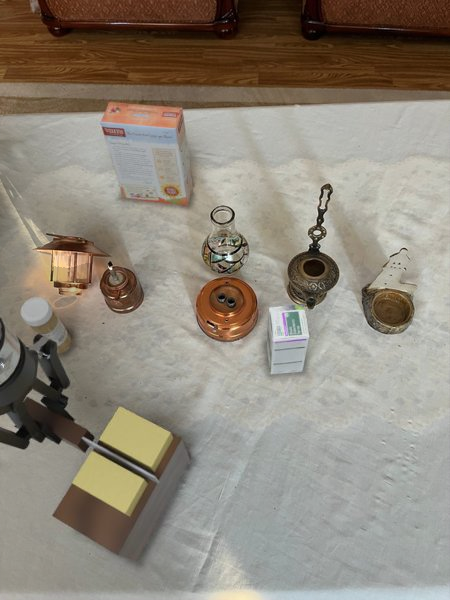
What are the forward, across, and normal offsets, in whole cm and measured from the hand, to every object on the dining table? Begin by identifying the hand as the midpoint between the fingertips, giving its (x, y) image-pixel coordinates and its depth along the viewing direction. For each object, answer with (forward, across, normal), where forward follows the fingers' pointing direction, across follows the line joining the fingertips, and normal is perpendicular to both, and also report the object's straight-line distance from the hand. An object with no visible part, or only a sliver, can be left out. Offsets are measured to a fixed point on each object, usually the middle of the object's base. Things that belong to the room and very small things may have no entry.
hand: (58, 427), depth 72 cm
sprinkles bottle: (+14, +14, +15) cm, 25 cm away
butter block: (0, +3, -11) cm, 11 cm away
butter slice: (0, -3, -11) cm, 11 cm away
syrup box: (+14, +29, -22) cm, 39 cm away
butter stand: (+14, -2, -11) cm, 18 cm away
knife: (0, 0, -6) cm, 6 cm away
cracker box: (+14, +52, +17) cm, 56 cm away
